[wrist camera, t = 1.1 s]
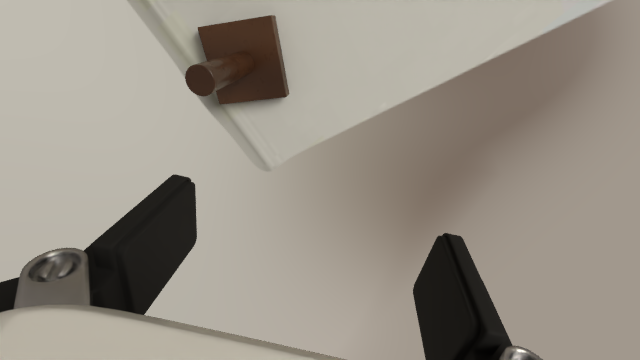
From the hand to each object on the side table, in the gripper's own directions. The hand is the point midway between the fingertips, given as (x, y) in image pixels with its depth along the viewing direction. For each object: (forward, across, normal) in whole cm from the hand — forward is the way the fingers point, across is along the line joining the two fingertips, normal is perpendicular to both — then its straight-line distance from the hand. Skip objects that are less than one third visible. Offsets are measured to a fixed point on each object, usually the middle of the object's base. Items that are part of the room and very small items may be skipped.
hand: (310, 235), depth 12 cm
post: (+26, +11, -1) cm, 28 cm away
